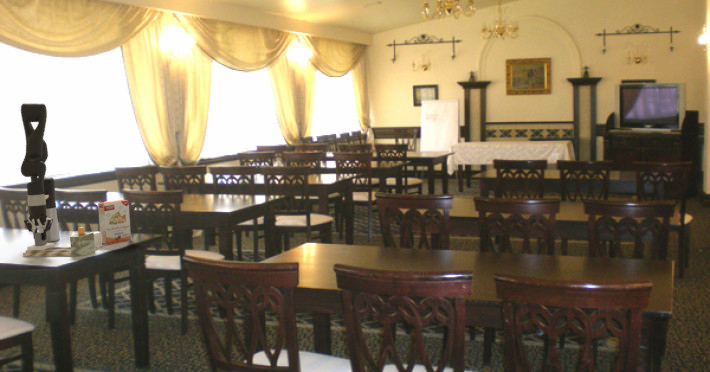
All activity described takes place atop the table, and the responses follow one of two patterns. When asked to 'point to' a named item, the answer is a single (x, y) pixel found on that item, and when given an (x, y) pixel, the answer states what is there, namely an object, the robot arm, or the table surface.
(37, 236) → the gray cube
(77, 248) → the rail track
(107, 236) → the cracker box
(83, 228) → the button
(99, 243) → the white cube
